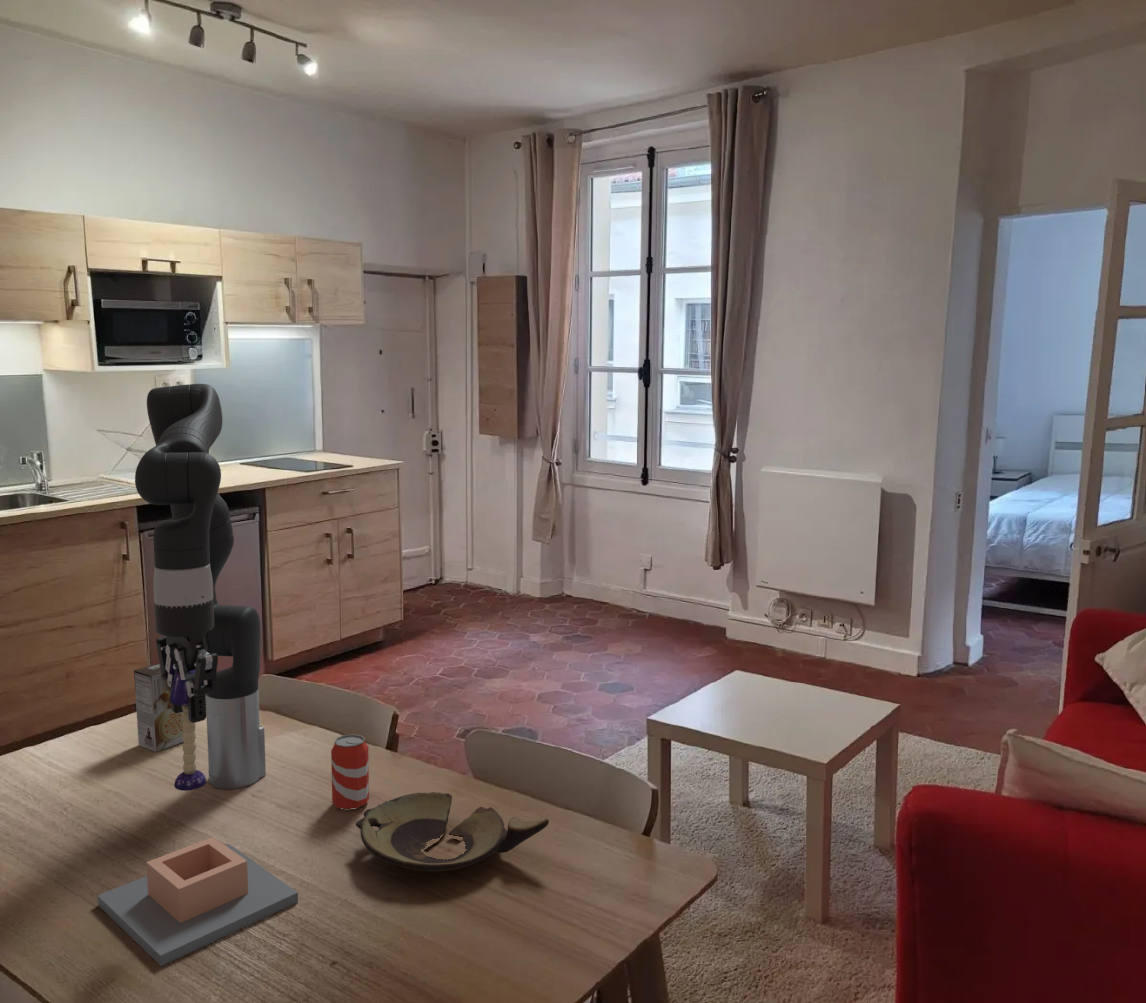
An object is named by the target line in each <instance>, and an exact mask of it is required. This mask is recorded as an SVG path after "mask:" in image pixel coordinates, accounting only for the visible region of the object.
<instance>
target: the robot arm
mask: <svg viewBox="0 0 1146 1003" xmlns="http://www.w3.org/2000/svg"><path fill="white" fill-rule="evenodd" d="M146 408H147V415H148V420H149V426H150V428H151V433H152V436H153V440H154V443H155V446H153V447H152V448H150V449H149V450H148V451H146V452H145V453H144V454H143V455H142V457H141V458H140V460H138V461H139V462H138V463H137V466H136V468H135V475H134V485H135V488H136V491H137V493H138V495H139V496H140V498H141V499H143V501H145V502H146V503H149V504H151V505H156V506H166V505H167V506H170V512H171V518H172V520H169V521H165V522H162V523H160V524H158V525H156V527H155V528H154V530H153V536H152V537H153V539H152V541H153V558H154V574H153V585H152V586H153V602H154V603H153V605H154V606H153V608H154V624H155V625H154V626H155V629H154V630H155V632H156V633H157V634H158V635H160V636H162V637H157V638H156V639H155V644H156V649H157V654H158V655H157V656H158V661H159V662H158V663H160V669H161V675H162V678H163V680H165V679H167V683H168V686H169V687H171V690H172V686H173V682H174V678H175V675H176V674H177V673H178V672H179V671H180V676H181V680H182V681H185V683H186V688H187V693H188V716H189V721H190V722H192V723H195V724H196V723H199V722H202V721H205V720H206V733H207V736H206V738H207V757H208V758H207V760H208V761H207V764H208V773H207V774H208V782H209V784H210V785H211V786H212V787H214V788H217V789H225V790H231V789H239V788H244V787H247V786H250V785H252V784H254V783H256V782H258V781H259V780H260V778H263V777H265V776H266V775H267V773H266V772H267V771H266V768H267V766H266V743H265V742H266V741H265V740H266V738H265V736H266V735H265V727H264V726H262V725H261V724H260V698H259V695H260V692H259V691H260V690H259V677H260V668H261V620H260V619H261V618H260V616H259V613H258V611H257V610H256V609H255V608H254V607H252V606H244V605H227V604H225V605H223V604H222V605H220V604H219V602H218V600H217V594H216V584H217V580H218V578H219V576H220V574H221V572H222V570H223V568H224V566H225V564H226V563H227V561H228V559H229V557H230V555H231V552H232V550H233V547H234V543H235V537H234V536H235V535H234V530H233V524H232V519H231V513H230V509H229V507H228V504H227V502H226V501H225V500H224V498H222V496H221V495H220V494H219V490H220V485H221V480H222V470H221V467H220V464H219V463H218V461H217V459H216V458H215V457H214V456H213V455H211V454H210V449H211V447H212V446H213V444H214V443H215V442H216V440H217V438H218V437H220V434H221V432H222V428H223V410H222V405H221V401H220V397H219V395H218V392H217V391H216V389H215V387H213V386H212V385H210V384H206V383H191V384H180V385H169V386H161V387H155V388H152V389H150V390H149V391H148V393H147V397H146ZM219 657H232V666H230V667H228V668H224V669H221V670H217V669H218V661H219ZM193 670H195V673H192V674H189V673H188V671H193ZM193 679H194V686H193ZM171 706H172V711H173V712H174V713H180V712H183V710H182V706H179V705H174V704H172V703H171Z"/></svg>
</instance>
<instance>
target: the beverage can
mask: <svg viewBox="0 0 1146 1003" xmlns="http://www.w3.org/2000/svg"><path fill="white" fill-rule="evenodd" d="M365 740H366V738H365V737H364V736H362V735H360V734H354V733H351V734H350V733H349V734H344V735H341V736H339V737H336V739H334V744H333V746H332V748H331V752H330V754H331V755H330V756H331V802H332V804H333V805H334V806H335V808H338V809H340V808H343V809H351V808H358V807H360V806H362V805H363V806H365V805H366V804H368V802H369V800H370V781H369V780H370V778H369V777H370V776H369V775H370V771H369V768H370V765H369V762H370V761H369V760H370V758H369V745H368V744H367V743H366V741H365ZM363 806H362V807H363ZM360 808H361V807H360ZM343 809H342V810H343ZM358 809H359V808H358Z"/></svg>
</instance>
